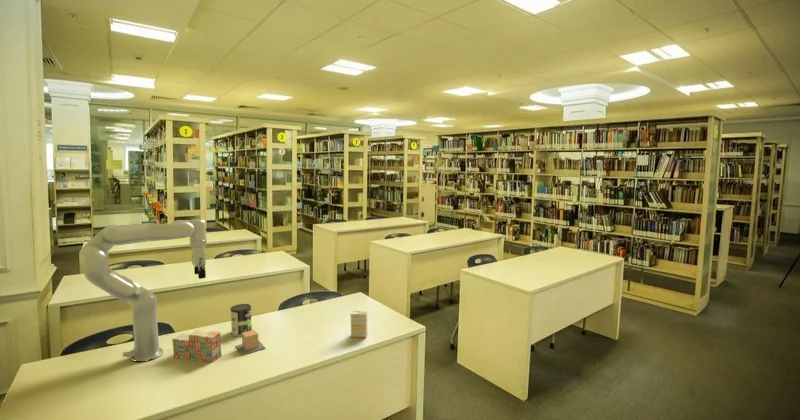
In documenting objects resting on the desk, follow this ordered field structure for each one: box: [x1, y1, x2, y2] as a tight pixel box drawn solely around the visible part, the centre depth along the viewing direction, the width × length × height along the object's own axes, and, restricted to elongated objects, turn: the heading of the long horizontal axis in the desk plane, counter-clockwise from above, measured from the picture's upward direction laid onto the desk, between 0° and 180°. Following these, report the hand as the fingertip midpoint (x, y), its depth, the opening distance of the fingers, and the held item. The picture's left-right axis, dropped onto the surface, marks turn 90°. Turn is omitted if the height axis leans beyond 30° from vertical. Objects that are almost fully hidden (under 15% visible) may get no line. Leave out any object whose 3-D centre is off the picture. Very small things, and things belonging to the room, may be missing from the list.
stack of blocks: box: [172, 328, 222, 363], centre depth 179 cm, size 21×6×12 cm, turn 78°
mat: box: [235, 339, 266, 356], centre depth 189 cm, size 11×11×1 cm
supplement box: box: [350, 310, 368, 339], centre depth 203 cm, size 8×5×13 cm, turn 84°
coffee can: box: [230, 303, 253, 337], centre depth 206 cm, size 10×10×14 cm
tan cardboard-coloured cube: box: [241, 329, 259, 351], centre depth 189 cm, size 6×6×7 cm
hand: (200, 276), depth 196 cm, fingers open, 9 cm apart
